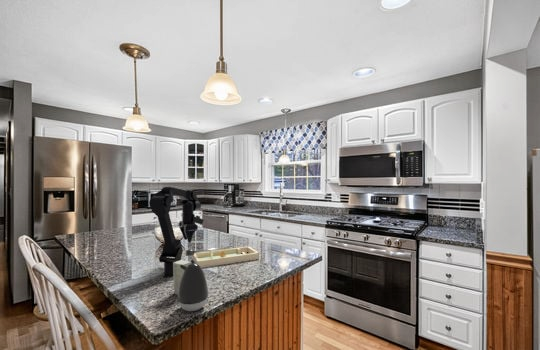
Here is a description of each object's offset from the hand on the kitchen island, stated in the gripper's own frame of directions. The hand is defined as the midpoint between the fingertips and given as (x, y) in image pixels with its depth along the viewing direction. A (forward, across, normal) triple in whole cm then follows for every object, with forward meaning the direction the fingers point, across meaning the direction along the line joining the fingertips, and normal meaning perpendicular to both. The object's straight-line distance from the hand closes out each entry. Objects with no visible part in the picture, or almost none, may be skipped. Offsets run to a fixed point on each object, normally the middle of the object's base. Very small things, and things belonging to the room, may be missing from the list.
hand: (187, 241), depth 136 cm
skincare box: (+13, -36, +10) cm, 40 cm away
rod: (+10, -2, -11) cm, 15 cm away
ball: (+9, -3, -19) cm, 21 cm away
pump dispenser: (+13, -50, +10) cm, 53 cm away
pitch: (+12, -4, -20) cm, 24 cm away
